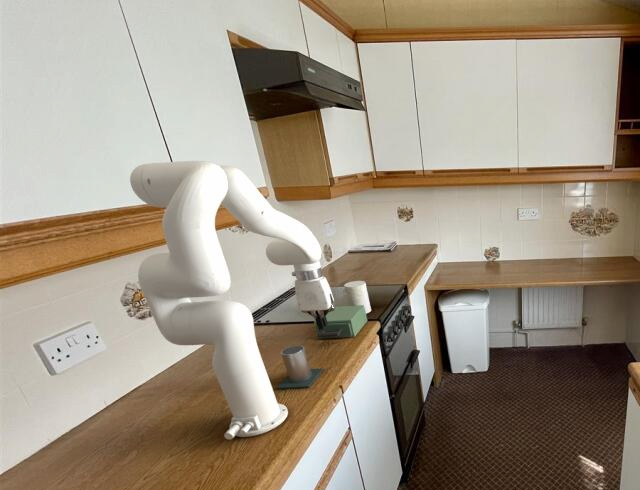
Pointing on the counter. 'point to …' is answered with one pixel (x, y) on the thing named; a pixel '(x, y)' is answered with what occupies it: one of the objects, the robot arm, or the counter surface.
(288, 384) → the mat
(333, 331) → the drawer
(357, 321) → the cabinet
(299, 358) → the metallic grey cylinder
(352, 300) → the cup
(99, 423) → the counter surface
